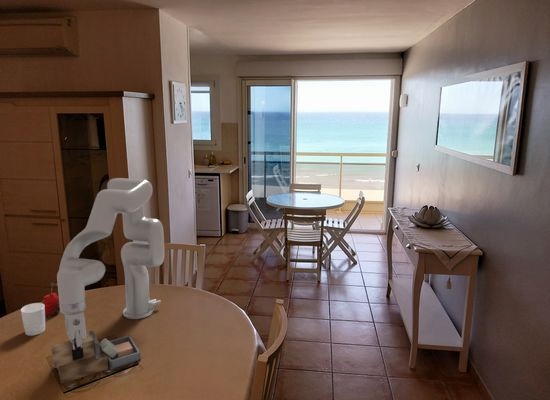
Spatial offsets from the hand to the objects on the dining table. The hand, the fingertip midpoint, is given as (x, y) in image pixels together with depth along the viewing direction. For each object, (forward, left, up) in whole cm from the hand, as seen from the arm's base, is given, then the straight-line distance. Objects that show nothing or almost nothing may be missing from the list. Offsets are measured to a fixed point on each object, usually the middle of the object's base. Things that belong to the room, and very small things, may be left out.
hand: (76, 355), depth 132 cm
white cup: (+10, -34, -5) cm, 36 cm away
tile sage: (-9, 0, -2) cm, 9 cm away
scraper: (+1, 0, -1) cm, 1 cm away
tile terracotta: (-15, 0, -2) cm, 15 cm away
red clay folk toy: (+3, -46, -5) cm, 47 cm away
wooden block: (-1, 0, -5) cm, 5 cm away
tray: (-14, 0, -5) cm, 15 cm away
